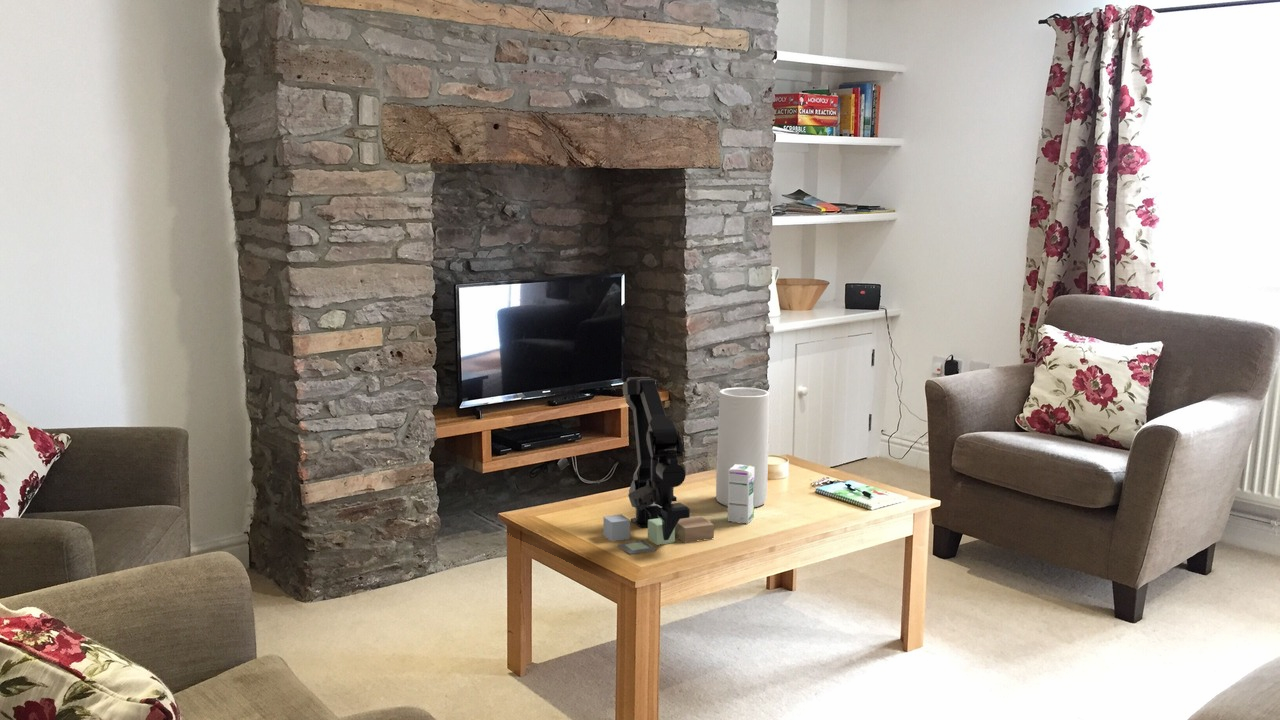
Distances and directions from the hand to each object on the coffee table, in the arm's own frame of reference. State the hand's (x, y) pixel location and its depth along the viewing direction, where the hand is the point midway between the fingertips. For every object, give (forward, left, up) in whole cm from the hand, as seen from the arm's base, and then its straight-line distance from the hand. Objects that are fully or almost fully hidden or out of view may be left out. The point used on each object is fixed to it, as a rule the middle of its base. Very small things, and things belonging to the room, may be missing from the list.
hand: (661, 536), depth 257 cm
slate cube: (-7, -9, -1) cm, 11 cm away
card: (+3, -8, -1) cm, 8 cm away
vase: (-20, +36, -1) cm, 41 cm away
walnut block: (0, +9, -1) cm, 9 cm away
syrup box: (-6, +27, -1) cm, 28 cm away
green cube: (0, 0, -1) cm, 1 cm away
